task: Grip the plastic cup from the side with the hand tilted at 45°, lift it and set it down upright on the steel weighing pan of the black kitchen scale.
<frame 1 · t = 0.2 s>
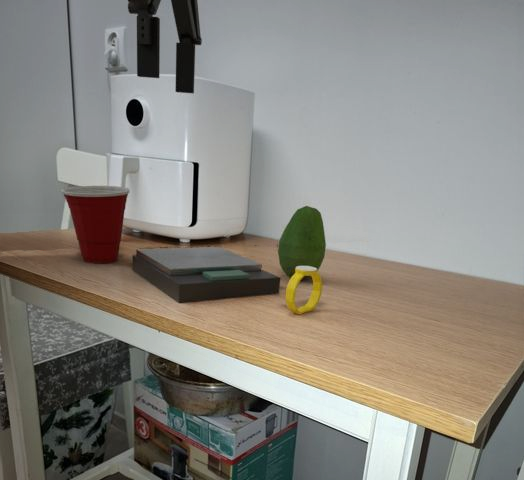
hand: (168, 85, 68), 27 cm above the table, tool pointing down, fingers open, 13 cm apart
plastic cup: (99, 261, 84), on the table
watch: (301, 313, 65), on the table
scale: (202, 281, 75), on the table
avocado: (297, 279, 83), on the table
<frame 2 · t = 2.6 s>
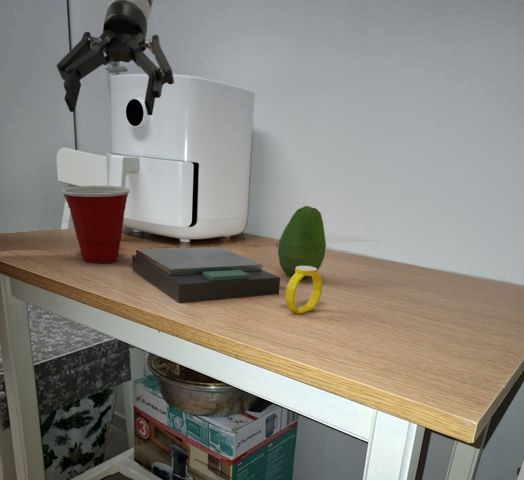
hand: (108, 107, 83), 24 cm above the table, tool tilted 40°, fingers open, 13 cm apart
nothing on the table moved.
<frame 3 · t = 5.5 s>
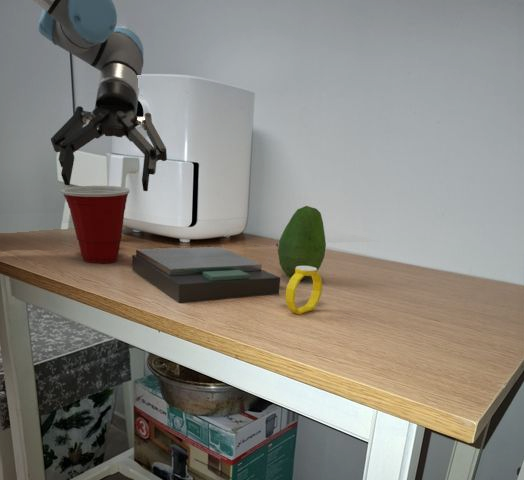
hand: (105, 183, 86), 12 cm above the table, tool tilted 45°, fingers open, 13 cm apart
nothing on the table moved.
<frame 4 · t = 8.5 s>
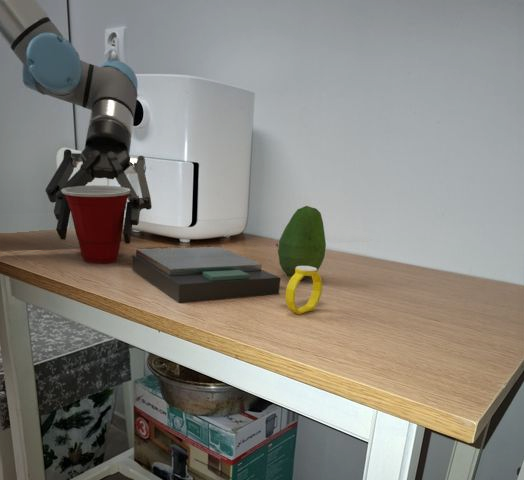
hand: (93, 236, 79), 4 cm above the table, tool tilted 45°, fingers closed on plastic cup, 10 cm apart
plastic cup: (99, 261, 84), on the table, touching gripper
everything else where it was.
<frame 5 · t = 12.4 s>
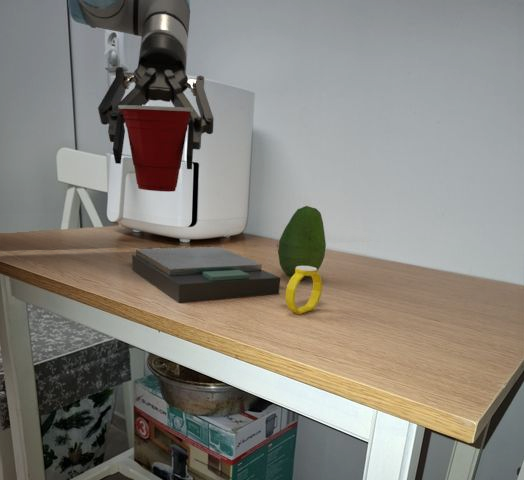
hand: (153, 159, 71), 17 cm above the table, tool tilted 45°, fingers closed on plastic cup, 10 cm apart
plastic cup: (155, 191, 75), point 12 cm above the table, touching gripper
everything else where it was.
when the fingers open (8 cm above the table, at t = 16.5 s): plastic cup stays where it is, resting on scale.
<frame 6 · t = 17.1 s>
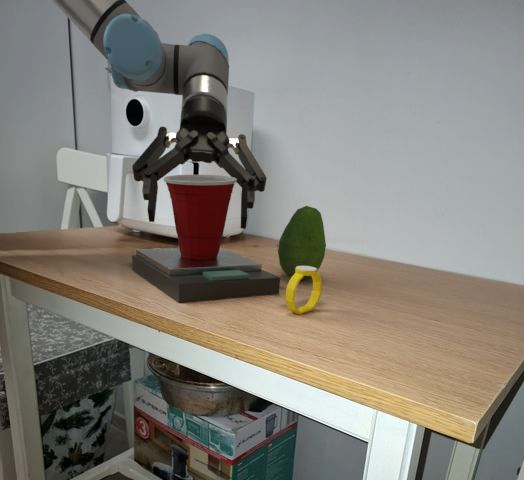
hand: (197, 219, 71), 9 cm above the table, tool tilted 45°, fingers open, 13 cm apart
plastic cup: (197, 257, 76), point 3 cm above the table, touching scale
everything else where it was.
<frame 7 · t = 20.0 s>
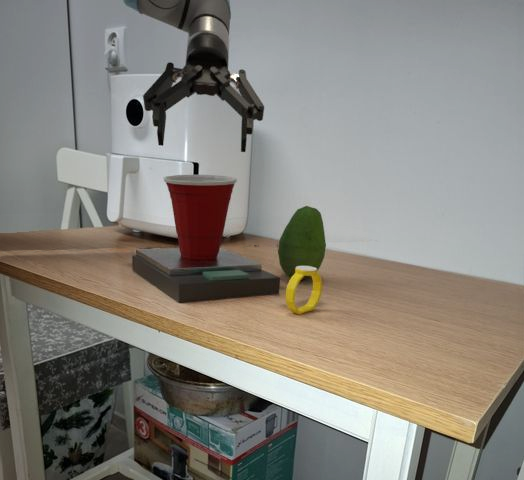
hand: (202, 142, 79), 20 cm above the table, tool tilted 45°, fingers open, 13 cm apart
nothing on the table moved.
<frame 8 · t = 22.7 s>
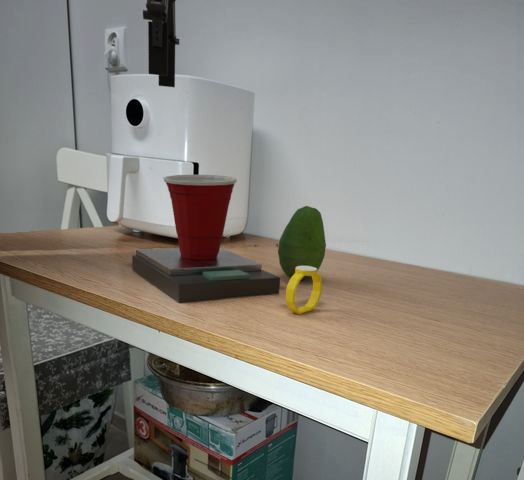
hand: (162, 81, 78), 29 cm above the table, tool pointing down, fingers open, 13 cm apart
nothing on the table moved.
at the end: plastic cup inside the target area on the scale (0.0 cm from its centre), point 3.3 cm above the scale's base; plastic cup tilted 0°; the gripper is holding nothing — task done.
